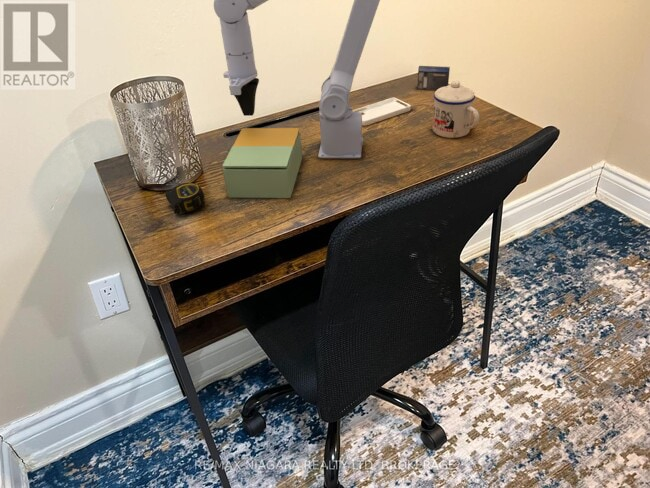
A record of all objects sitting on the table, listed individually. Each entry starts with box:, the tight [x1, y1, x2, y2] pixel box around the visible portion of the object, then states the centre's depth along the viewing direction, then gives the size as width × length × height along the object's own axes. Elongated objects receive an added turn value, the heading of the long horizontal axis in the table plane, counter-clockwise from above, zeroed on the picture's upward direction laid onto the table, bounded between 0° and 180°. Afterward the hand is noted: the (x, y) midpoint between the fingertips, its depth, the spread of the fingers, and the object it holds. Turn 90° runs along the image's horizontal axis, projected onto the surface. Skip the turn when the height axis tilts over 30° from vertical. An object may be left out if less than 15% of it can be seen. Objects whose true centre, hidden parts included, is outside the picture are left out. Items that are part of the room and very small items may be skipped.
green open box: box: [221, 130, 303, 199], centre depth 108 cm, size 17×13×7 cm
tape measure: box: [164, 182, 205, 216], centre depth 101 cm, size 7×7×4 cm
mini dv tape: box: [416, 65, 451, 91], centre depth 141 cm, size 8×2×6 cm, turn 75°
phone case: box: [352, 97, 412, 127], centre depth 131 cm, size 7×1×15 cm
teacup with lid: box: [432, 80, 480, 139], centre depth 118 cm, size 12×9×12 cm
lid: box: [232, 127, 300, 148], centre depth 109 cm, size 8×13×1 cm, turn 83°
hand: (249, 114), depth 113 cm, fingers closed
